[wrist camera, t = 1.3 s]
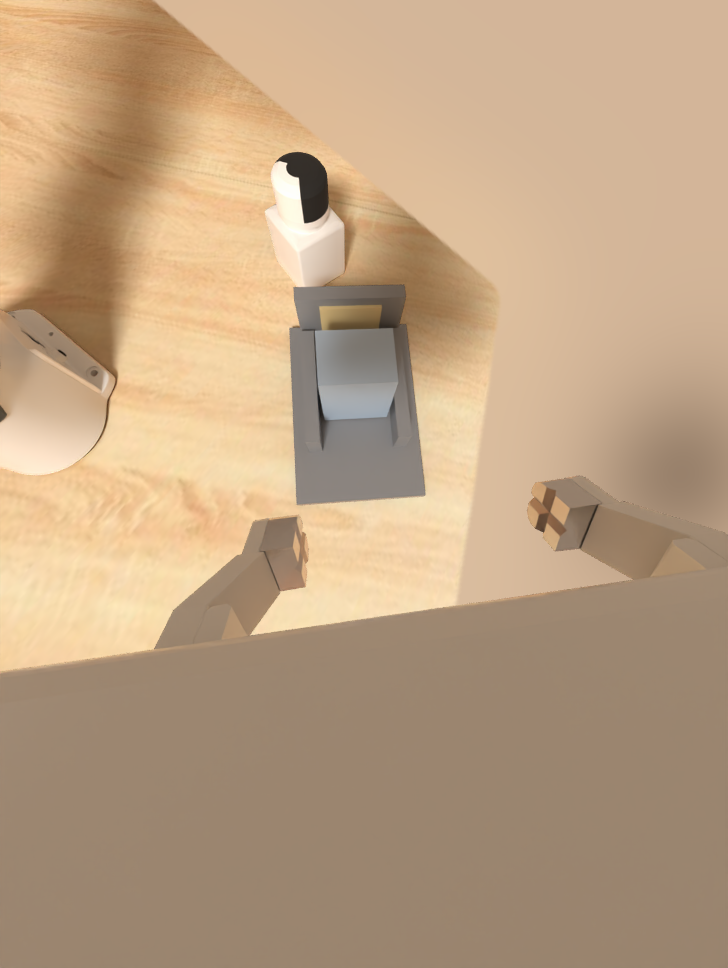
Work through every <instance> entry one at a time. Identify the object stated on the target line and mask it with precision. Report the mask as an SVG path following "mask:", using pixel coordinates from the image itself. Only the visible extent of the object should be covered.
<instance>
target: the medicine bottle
mask: <svg viewBox="0 0 728 968" xmlns="http://www.w3.org/2000/svg"><path fill="white" fill-rule="evenodd" d="M271 181H272V186H273V190H274V195H275V200H276V204H275V205H273V206H272V207H270V208H268V209H266V210H265V215H266V219H267V223H268V227H269V231H270V235H271V239H272V243H273V247H274V251H275V255H276V259H277V262H278V263H279V264H280V266H281V267H282V268H283V269H284V271H285V272H286V273H287V274H288V276H289V277H290V278H291V279H292V281H293V282H294V283H295V284H296V286H297V287H322V286H324V285H325V284H327V283H329V282H330V281H332V280H334V279H335V278H337V277H339V276H340V275H342V274H343V273H344V272H345V233H344V223H343V222H342V221H341V219H340V218H339V217H338V216H337V215H336V213H335V212H334V211H333V210H332V209H331V208H330V206H329V201H328V182H327V173H326V170H325V168H324V166H323V165H322V164H321V163H320V161H319V160H318V159H316V158H315V157H313V156H312V155H310V154H307V153H302V152H293V153H288V154H285V155H283V156H282V157H280V158H279V159H278V160H277V161H276V162H275V164H274V166H273V168H272V171H271Z"/></svg>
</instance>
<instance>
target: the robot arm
mask: <svg viewBox="0 0 728 968" xmlns="http://www.w3.org/2000/svg"><path fill="white" fill-rule="evenodd" d="M97 373H98V374H97ZM96 374H97V375H96ZM95 375H96V376H95ZM114 385H115V377H114V376H113V375H112V374H111V373H110V372H109V371H108V370H106V369H105V368H104V367H103V366H102V365H101V364H99V363H98V362H97V361H96V360H95V359H94V358H92V357H91V356H90V355H89V354H88V353H86V352H85V351H84V350H83V349H82V348H81V347H79V346H78V345H77V344H76V343H75V342H73V341H72V340H71V339H70V338H69V337H68V336H66V335H65V334H64V333H63V332H62V331H61V330H59V329H58V328H57V327H56V326H55V325H53V324H52V323H51V322H50V321H49V320H48V319H46V318H45V317H44V316H43V315H41V314H40V313H38V312H36V311H35V310H32V309H23V310H15V311H11V312H7V313H6V312H4V311H3V310H1V309H0V468H2V469H7V470H10V471H13V472H17V473H21V474H26V475H43V474H49V473H54V472H57V471H60V470H62V469H65V468H67V467H69V466H71V465H73V464H74V463H76V462H77V461H79V460H80V459H81V458H83V457H84V456H85V455H86V454H87V453H88V452H89V451H90V450H91V449H92V447H93V446H94V445H95V444H96V442H97V440H98V439H99V437H100V435H101V433H102V431H103V428H104V424H105V420H106V406H107V400H108V398H109V396H110V394H111V392H112V390H113V388H114ZM531 493H532V494H533V496H534V498H533V499H532V500H531V501H530V502H529V503H528V509H527V513H528V518H529V521H530V523H531V524H532V526H533V527H534V528H535V529H537V530H539V531H541V532H543V538H544V540H545V541H546V542H547V543H548V544H549V545H550V546H551V548H552V549H553V550H554V551H563V550H572V549H581V550H582V551H583V552H585V553H587V554H589V555H591V556H592V557H594V558H596V559H598V560H599V561H601V562H603V563H605V564H606V565H608V566H610V567H612V568H614V569H615V570H617V571H619V572H621V573H622V574H624V575H626V576H628V577H629V578H631V579H633V580H630V581H622V582H616V583H608V584H602V585H595V586H588V587H581V588H574V589H567V590H560V591H553V592H547V593H539V594H532V595H526V596H518V597H512V598H505V599H498V600H491V601H485V602H478V603H471V604H464V605H457V606H450V607H443V608H436V609H429V610H422V611H415V612H409V613H402V614H395V615H388V616H381V617H374V618H367V619H361V620H354V621H347V622H340V623H333V624H326V625H319V626H312V627H306V628H299V629H292V630H285V631H278V632H271V633H264V634H257V635H251V636H249V635H250V634H251V633H252V631H253V630H254V629H255V627H256V626H257V624H258V623H259V622H260V620H261V619H262V617H263V616H264V615H265V613H266V612H267V610H268V609H269V608H270V606H271V605H272V603H273V602H274V601H275V599H276V598H277V596H278V595H279V594H280V591H285V590H291V589H297V588H303V587H306V578H307V568H306V565H305V564H306V562H307V561H308V555H309V553H308V542H307V537H306V534H305V533H304V532H302V527H303V523H302V520H301V517H300V516H299V515H293V516H284V517H276V518H270V519H269V518H268V519H260V520H255V521H254V522H253V523H252V526H251V529H250V532H249V535H248V538H247V540H246V543H245V546H244V549H243V552H242V555H237V556H236V557H234V558H233V559H232V560H231V561H230V562H229V563H228V564H226V565H225V566H224V567H223V568H222V569H221V570H219V571H218V572H217V573H216V574H215V575H214V576H212V577H211V578H210V579H209V580H208V581H207V582H206V583H204V584H203V585H202V586H201V587H200V588H199V589H197V590H196V591H195V592H194V593H193V594H192V595H190V596H189V597H188V598H187V599H186V600H185V601H184V602H182V603H181V604H180V605H179V606H178V607H177V608H175V609H174V610H173V612H172V614H171V616H170V618H169V620H168V622H167V624H166V626H165V628H164V630H163V632H162V634H161V636H160V638H159V640H158V642H157V644H156V646H155V648H154V650H147V651H141V652H134V653H127V654H120V655H113V656H106V657H99V658H92V659H86V660H79V661H72V662H65V663H58V664H51V665H44V666H37V667H29V668H21V669H13V670H6V671H1V672H0V968H728V535H727V534H726V533H724V532H721V531H718V530H715V529H712V528H709V527H705V526H702V525H699V524H696V523H692V522H689V521H686V520H683V519H680V518H676V517H673V516H670V515H667V514H664V513H660V512H657V511H654V510H651V509H647V508H644V507H641V506H638V505H634V504H631V503H628V502H625V501H623V502H619V501H618V500H616V499H614V498H613V497H612V496H611V495H609V494H608V493H606V492H605V491H604V490H602V489H600V488H599V487H598V486H597V485H595V484H594V483H593V482H591V481H590V480H588V479H587V478H586V477H583V476H574V477H568V478H564V479H557V480H551V481H544V482H537V483H535V484H534V486H533V488H532V492H531Z"/></svg>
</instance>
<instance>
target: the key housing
mask: <svg viewBox="0 0 728 968" xmlns="http://www.w3.org/2000/svg"><path fill="white" fill-rule="evenodd" d="M405 299H406V294H405V286H404V285H366V286H322V287H294V301H295V306H296V310H297V315H298V319H299V324H300V328H289V330H290V354H291V378H292V402H293V425H294V449H295V473H296V497H297V505H311V504H325V503H338V502H352V501H366V500H380V499H394V498H408V497H422V496H425V487H424V478H423V469H422V460H421V451H420V442H419V434H418V425H417V416H416V407H415V398H414V389H413V380H412V372H411V363H410V354H409V345H408V336H407V327H406V324H399V323H400V319H401V315H402V311H403V307H404V303H405ZM381 328H393V335H394V344H395V354H396V363H397V373H398V385H397V388H396V391H395V394H394V397H393V400H392V403H391V406H390V409H389V412H388V415H387V417H377V418H358V419H340V420H325V419H324V414H323V409H322V404H321V399H320V394H319V389H318V378H317V360H316V343H315V331H320V330H350V329H381Z"/></svg>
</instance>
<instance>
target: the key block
mask: <svg viewBox="0 0 728 968" xmlns="http://www.w3.org/2000/svg"><path fill="white" fill-rule="evenodd" d="M315 343H316V360H317V378H318V389H319V394H320V399H321V404H322V409H323V414H324V419H325V420H340V419H358V418H377V417H387V415H388V412H389V409H390V406H391V403H392V400H393V397H394V394H395V391H396V388H397V385H398V373H397V363H396V354H395V344H394V335H393V328H381V329H350V330H320V331H315Z"/></svg>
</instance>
